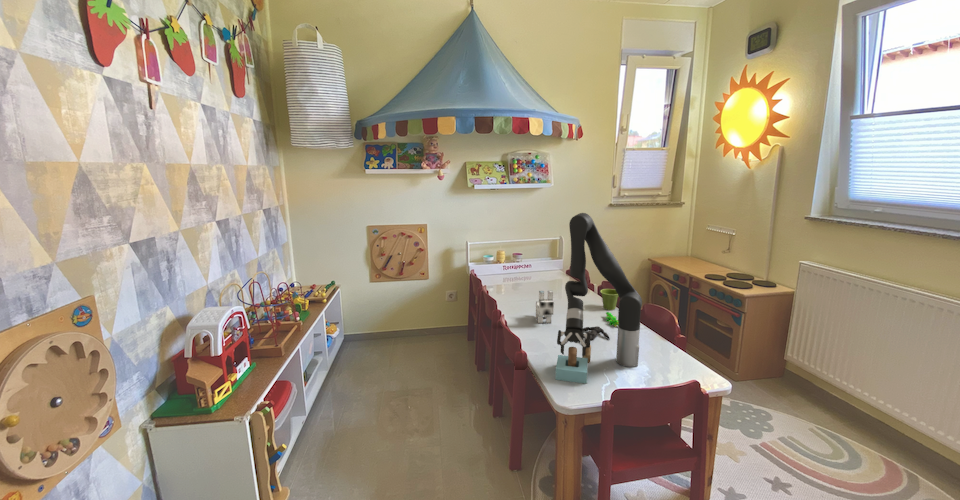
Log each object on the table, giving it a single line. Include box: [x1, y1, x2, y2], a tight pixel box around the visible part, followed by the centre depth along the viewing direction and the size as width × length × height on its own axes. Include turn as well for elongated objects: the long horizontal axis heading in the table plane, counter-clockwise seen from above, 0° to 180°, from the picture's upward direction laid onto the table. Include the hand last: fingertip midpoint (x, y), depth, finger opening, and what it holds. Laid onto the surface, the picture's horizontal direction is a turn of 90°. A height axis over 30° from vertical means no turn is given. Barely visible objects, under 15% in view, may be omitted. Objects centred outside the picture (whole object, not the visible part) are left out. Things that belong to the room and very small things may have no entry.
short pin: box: [581, 344, 592, 364], centre depth 181 cm, size 4×4×8 cm
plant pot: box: [599, 288, 619, 311], centre depth 248 cm, size 12×12×11 cm
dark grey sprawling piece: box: [582, 325, 611, 344], centre depth 208 cm, size 18×4×20 cm
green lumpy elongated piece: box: [605, 311, 618, 328], centre depth 226 cm, size 7×18×4 cm, turn 0°
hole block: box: [555, 354, 589, 384], centre depth 171 cm, size 13×13×5 cm
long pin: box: [567, 346, 578, 367], centre depth 170 cm, size 4×4×12 cm
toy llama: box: [535, 290, 555, 325], centre depth 228 cm, size 8×18×20 cm, turn 1°
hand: (572, 355), depth 169 cm, fingers open, 8 cm apart
